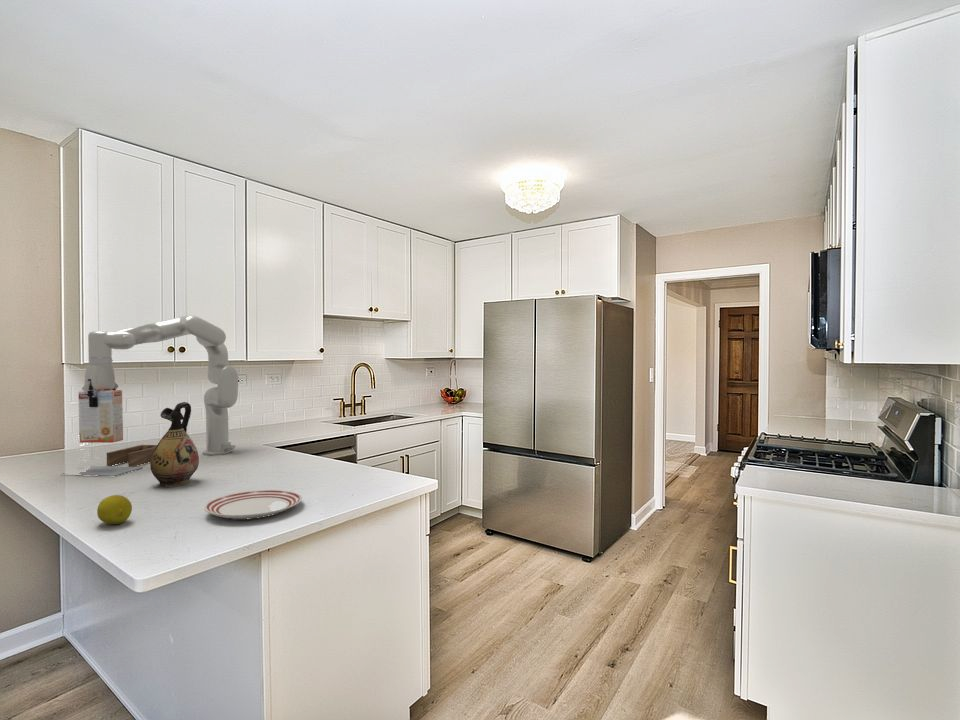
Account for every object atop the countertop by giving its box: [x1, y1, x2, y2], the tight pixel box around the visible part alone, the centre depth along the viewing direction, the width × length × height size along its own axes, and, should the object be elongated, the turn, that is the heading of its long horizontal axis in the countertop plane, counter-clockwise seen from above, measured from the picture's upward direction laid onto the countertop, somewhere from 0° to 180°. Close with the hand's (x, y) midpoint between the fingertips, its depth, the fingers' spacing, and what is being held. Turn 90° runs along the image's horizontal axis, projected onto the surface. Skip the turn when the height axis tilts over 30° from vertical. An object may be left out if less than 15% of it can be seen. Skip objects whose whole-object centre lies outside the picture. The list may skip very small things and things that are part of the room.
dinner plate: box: [203, 489, 303, 520], centre depth 155 cm, size 28×27×3 cm
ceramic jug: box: [149, 401, 200, 488], centre depth 187 cm, size 17×15×30 cm
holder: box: [106, 444, 158, 467], centre depth 221 cm, size 11×19×6 cm, turn 172°
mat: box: [79, 465, 144, 477], centre depth 204 cm, size 24×14×1 cm, turn 82°
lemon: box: [96, 494, 133, 525], centre depth 143 cm, size 11×8×8 cm
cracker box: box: [78, 389, 124, 444], centre depth 204 cm, size 14×6×21 cm, turn 89°
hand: (101, 405), depth 204 cm, fingers closed on cracker box, 6 cm apart
